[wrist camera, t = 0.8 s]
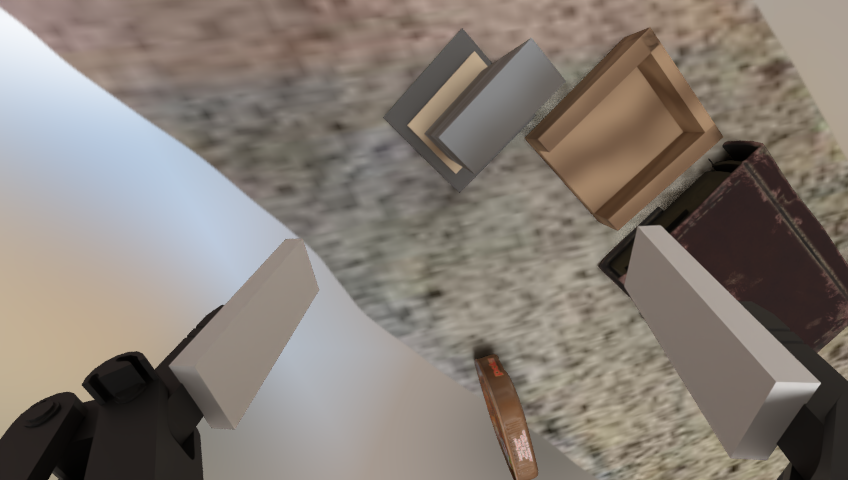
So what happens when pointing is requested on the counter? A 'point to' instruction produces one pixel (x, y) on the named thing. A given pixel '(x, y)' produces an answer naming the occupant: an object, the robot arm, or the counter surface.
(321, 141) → the counter surface
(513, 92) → the grey tall block
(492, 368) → the tin
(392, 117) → the mat
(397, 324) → the counter surface
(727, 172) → the diary
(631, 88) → the tray
